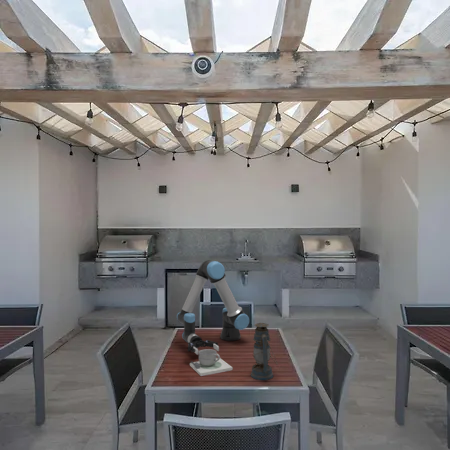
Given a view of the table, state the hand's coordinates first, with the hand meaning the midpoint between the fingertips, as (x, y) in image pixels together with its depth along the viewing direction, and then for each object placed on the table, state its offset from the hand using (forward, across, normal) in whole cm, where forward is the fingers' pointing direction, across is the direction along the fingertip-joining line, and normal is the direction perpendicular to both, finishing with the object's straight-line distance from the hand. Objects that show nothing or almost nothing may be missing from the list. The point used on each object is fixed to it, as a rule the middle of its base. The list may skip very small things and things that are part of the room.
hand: (208, 350), depth 232 cm
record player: (+4, 0, -9) cm, 10 cm away
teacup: (+4, +1, -8) cm, 9 cm away
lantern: (+28, -22, -10) cm, 37 cm away
